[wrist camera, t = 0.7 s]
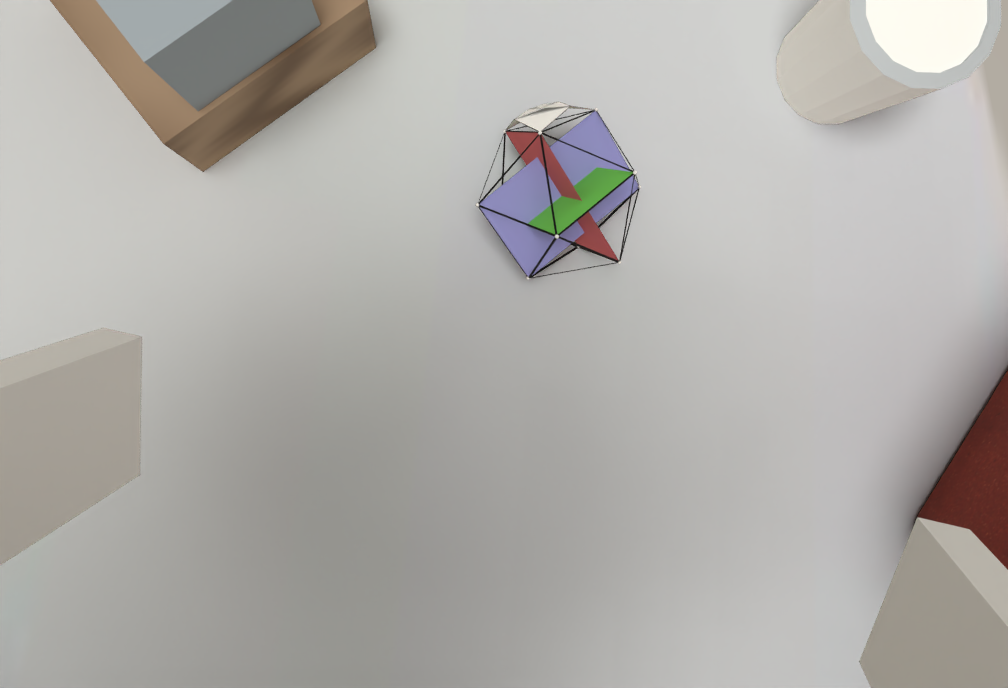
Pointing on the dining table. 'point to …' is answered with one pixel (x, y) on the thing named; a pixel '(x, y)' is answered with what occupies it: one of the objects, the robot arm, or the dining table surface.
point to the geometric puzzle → (559, 190)
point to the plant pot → (978, 480)
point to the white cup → (881, 53)
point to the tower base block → (243, 104)
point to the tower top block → (209, 38)
